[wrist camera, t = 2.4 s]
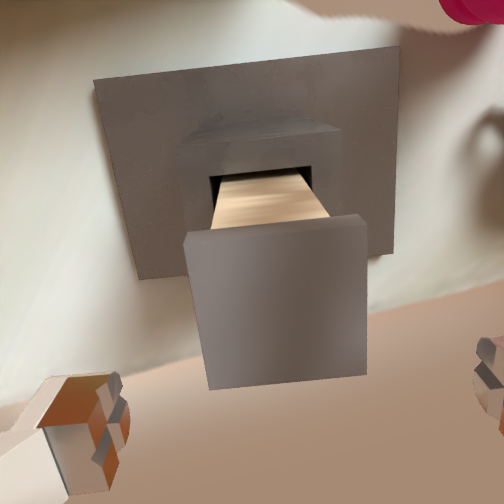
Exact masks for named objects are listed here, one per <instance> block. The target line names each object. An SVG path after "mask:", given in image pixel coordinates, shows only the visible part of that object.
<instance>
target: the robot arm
mask: <svg viewBox="0 0 504 504" xmlns="http://www.w3.org/2000/svg"><path fill="white" fill-rule="evenodd" d="M476 354H477V355H478V357H479V358H480V359H481V360H482V362H481V363H480V364H479V365H478V366H477V367H476V369H475V370H474V377H473V385H474V389H475V394H476V397H477V399H478V401H479V403H480V405H481V406H482V408H483V409H484V410H485V412H486V413H487V414H489V415H490V416H492V417H494V418H496V419H498V420H499V421H500V426H499V431H500V432H501V433H502V435H503V436H504V336H494V337H484V338H481V339H480V340H479V342H478V344H477V351H476ZM122 387H123V385H122V382H121V379H120V376H119V374H118V373H116V372H101V373H86V374H73V375H62V376H51V377H49V378H47V379H45V381H44V382H43V383H42V385H41V386H40V388H39V389H38V391H37V392H36V393H35V395H34V396H33V398H32V399H31V400H30V402H29V403H28V405H27V406H26V408H25V409H24V410H23V412H22V413H21V415H20V416H19V417H18V419H17V420H16V422H15V423H14V424H13V426H12V427H11V429H10V430H9V431H5V432H0V504H64V502H65V501H66V500H67V499H68V498H69V497H68V496H69V495H78V494H87V493H96V492H103V491H110V488H111V485H112V482H113V480H114V477H115V474H116V471H117V468H118V465H119V460H118V457H117V453H118V452H119V451H120V450H121V449H122V448H123V447H124V446H125V445H126V442H127V439H128V435H129V429H130V412H129V407H128V403H127V401H126V400H124V399H123V398H122V397H121V396H120V395H119V394H120V392H121V389H122Z"/></svg>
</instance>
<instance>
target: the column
mask: <svg viewBox="0 0 504 504" xmlns="http://www.w3.org/2000/svg"><path fill="white" fill-rule="evenodd" d="M367 242H368V224H367V223H366V222H365V221H364V220H363V219H362V218H361V217H360V216H359V215H358V214H352V215H343V216H333V217H330V216H329V214H328V213H327V212H326V210H325V209H324V207H323V206H322V205H321V203H320V202H319V200H318V199H317V198H316V196H315V195H314V193H313V192H312V190H311V189H310V188H309V186H308V185H307V183H306V182H305V181H304V179H303V178H302V176H301V175H300V174H299V172H298V171H297V169H296V168H295V167H292V168H282V169H273V170H264V171H254V172H245V173H236V174H226V175H223V177H222V181H221V186H220V190H219V195H218V199H217V204H216V208H215V212H214V217H213V221H212V226H211V229H210V230H200V231H191V232H187V235H186V238H185V240H184V243H183V246H184V252H185V257H186V263H187V269H188V274H189V280H190V285H191V291H192V297H193V302H194V308H195V313H196V319H197V325H198V330H199V336H200V341H201V347H202V353H203V358H204V364H205V369H206V375H207V381H208V386H209V390H218V389H229V388H239V387H248V386H259V385H269V384H279V383H289V382H300V381H310V380H320V379H330V378H340V377H350V376H359V375H366V374H367Z"/></svg>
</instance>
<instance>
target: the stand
mask: <svg viewBox="0 0 504 504" xmlns="http://www.w3.org/2000/svg"><path fill="white" fill-rule="evenodd" d="M399 60H400V46H393V47H384V48H375V49H366V50H357V51H348V52H339V53H330V54H321V55H312V56H303V57H294V58H285V59H276V60H267V61H258V62H250V63H241V64H232V65H223V66H214V67H205V68H196V69H187V70H178V71H169V72H160V73H151V74H142V75H133V76H124V77H115V78H106V79H97V80H93V82H94V86H95V91H96V95H97V99H98V104H99V108H100V112H101V117H102V121H103V125H104V130H105V134H106V138H107V143H108V147H109V151H110V156H111V160H112V164H113V169H114V173H115V177H116V182H117V186H118V190H119V195H120V199H121V203H122V208H123V212H124V216H125V221H126V225H127V229H128V234H129V238H130V242H131V247H132V251H133V255H134V260H135V264H136V268H137V273H138V277H139V280H144V279H154V278H164V277H173V276H183V275H189V274H188V269H187V263H186V257H185V252H184V246H183V243H184V240H185V238H186V235H187V232H191V231H200V230H210V229H211V226H212V221H213V217H214V212H215V208H216V204H217V199H218V195H219V190H220V186H221V181H222V177H223V175H226V174H236V173H245V172H254V171H264V170H273V169H282V168H292V167H295V168H296V169H297V171H298V172H299V174H300V175H301V176H302V178H303V179H304V181H305V182H306V183H307V185H308V186H309V188H310V189H311V190H312V192H313V193H314V195H315V196H316V198H317V199H318V200H319V202H320V203H321V205H322V206H323V207H324V209H325V210H326V212H327V213H328V214H329V216H330V217H333V216H343V215H352V214H358V215H359V216H360V217H361V218H362V219H363V220H364V221H365V222H366V223H367V224H368V242H367V256H376V255H386V254H393V247H394V216H395V185H396V154H397V122H398V91H399Z"/></svg>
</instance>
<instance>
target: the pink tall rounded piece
mask: <svg viewBox="0 0 504 504" xmlns="http://www.w3.org/2000/svg"><path fill="white" fill-rule="evenodd" d="M439 2H440V4H441V6H442V8H443V10H444V11H445V12H446V14H447V15H448V16H449V17H450V18H452V19H453V20H454V21H457V22H459V23H461V24H466V25H479V24H483V23H487V22H488V23H493V24H504V0H439Z"/></svg>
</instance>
